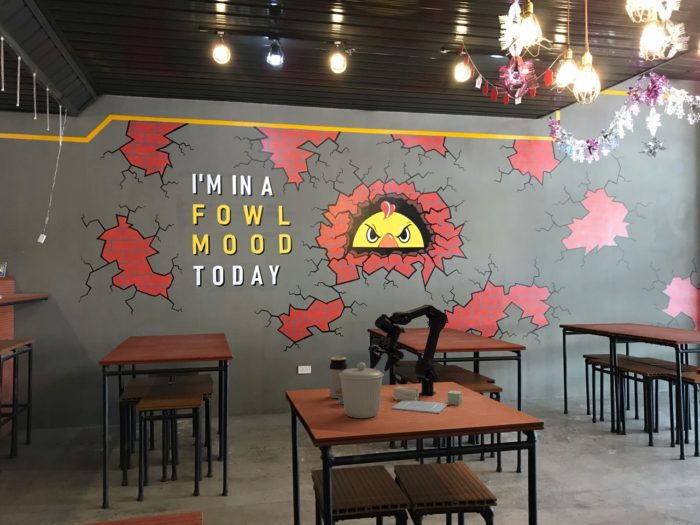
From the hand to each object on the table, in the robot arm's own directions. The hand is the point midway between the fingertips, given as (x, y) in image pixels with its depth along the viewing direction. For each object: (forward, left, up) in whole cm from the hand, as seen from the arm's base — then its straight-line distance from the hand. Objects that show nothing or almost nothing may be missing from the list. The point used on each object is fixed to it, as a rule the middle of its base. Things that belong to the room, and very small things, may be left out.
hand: (378, 369), depth 242 cm
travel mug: (-5, -21, -15) cm, 27 cm away
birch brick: (-13, +9, -15) cm, 22 cm away
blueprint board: (-1, +19, -15) cm, 24 cm away
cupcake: (+5, -13, -15) cm, 21 cm away
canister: (+21, +1, -15) cm, 26 cm away
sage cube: (-13, +31, -15) cm, 36 cm away
